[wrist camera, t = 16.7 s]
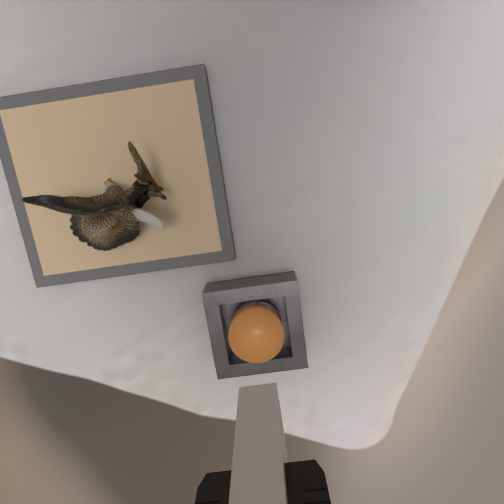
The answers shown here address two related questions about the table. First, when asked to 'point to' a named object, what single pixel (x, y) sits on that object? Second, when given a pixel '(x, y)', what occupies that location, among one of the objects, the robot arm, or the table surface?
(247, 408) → the robot arm
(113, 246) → the eagle figurine
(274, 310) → the button
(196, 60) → the table surface
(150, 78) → the board
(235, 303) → the button housing
